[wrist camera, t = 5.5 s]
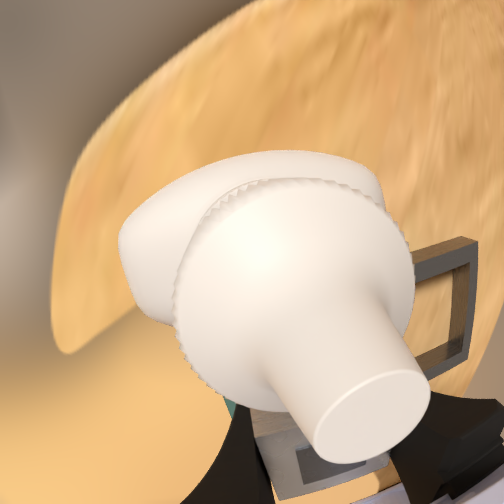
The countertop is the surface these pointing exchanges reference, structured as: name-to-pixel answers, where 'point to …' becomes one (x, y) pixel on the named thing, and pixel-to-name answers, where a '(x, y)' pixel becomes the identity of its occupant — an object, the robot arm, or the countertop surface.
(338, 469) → the block
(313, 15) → the countertop surface
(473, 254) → the grey flat frame
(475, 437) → the robot arm
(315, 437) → the eye dropper bottle
